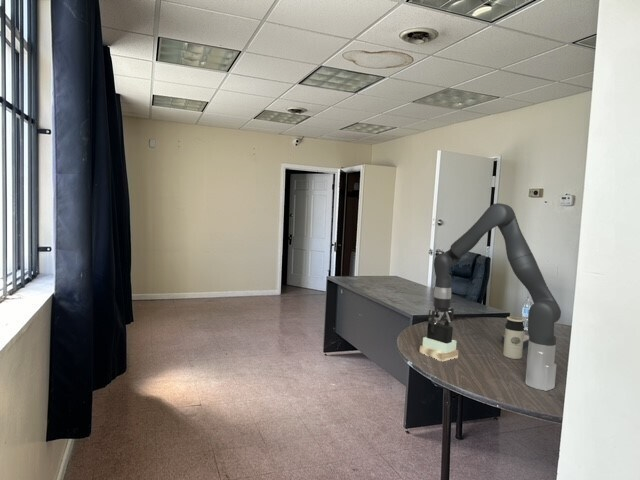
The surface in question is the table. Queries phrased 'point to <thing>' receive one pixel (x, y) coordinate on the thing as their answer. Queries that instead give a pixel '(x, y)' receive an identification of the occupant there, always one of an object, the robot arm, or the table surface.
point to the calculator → (525, 340)
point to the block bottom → (439, 354)
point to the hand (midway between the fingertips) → (440, 331)
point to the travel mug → (513, 338)
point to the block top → (439, 345)
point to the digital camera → (440, 333)
